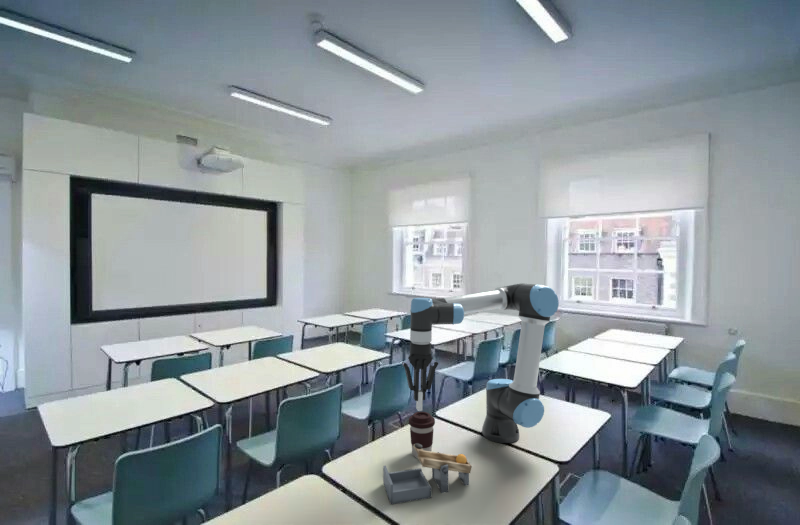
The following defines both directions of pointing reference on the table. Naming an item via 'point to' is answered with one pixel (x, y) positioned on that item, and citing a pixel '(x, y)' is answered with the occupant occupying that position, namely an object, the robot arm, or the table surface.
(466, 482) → the post
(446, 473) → the fulcrum
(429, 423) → the coffee cup
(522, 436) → the table surface
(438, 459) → the lever
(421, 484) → the tray
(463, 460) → the ball
